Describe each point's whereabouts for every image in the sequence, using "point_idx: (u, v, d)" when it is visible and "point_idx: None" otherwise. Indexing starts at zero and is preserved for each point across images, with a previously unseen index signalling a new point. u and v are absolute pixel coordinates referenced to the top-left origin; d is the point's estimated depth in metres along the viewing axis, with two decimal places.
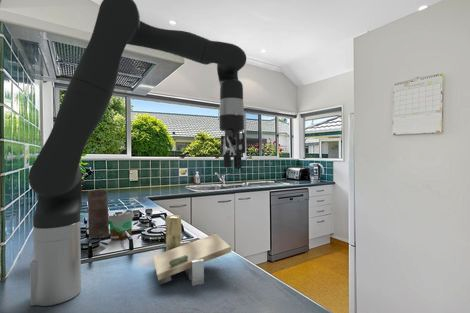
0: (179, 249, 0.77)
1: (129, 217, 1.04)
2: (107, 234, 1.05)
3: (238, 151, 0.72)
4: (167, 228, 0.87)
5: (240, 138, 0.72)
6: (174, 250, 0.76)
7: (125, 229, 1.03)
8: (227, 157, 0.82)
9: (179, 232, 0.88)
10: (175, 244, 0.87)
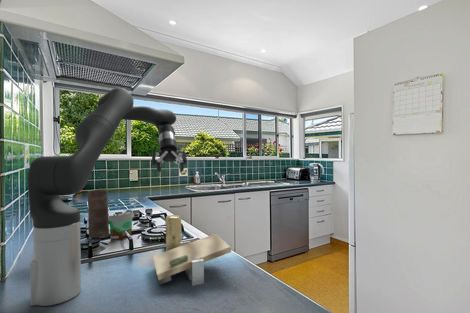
0: (179, 249, 0.77)
1: (129, 217, 1.04)
2: (107, 234, 1.05)
3: (152, 163, 1.05)
4: (167, 228, 0.87)
5: None
6: (174, 250, 0.76)
7: (125, 229, 1.03)
8: (179, 165, 1.08)
9: (179, 232, 0.88)
10: (175, 244, 0.87)
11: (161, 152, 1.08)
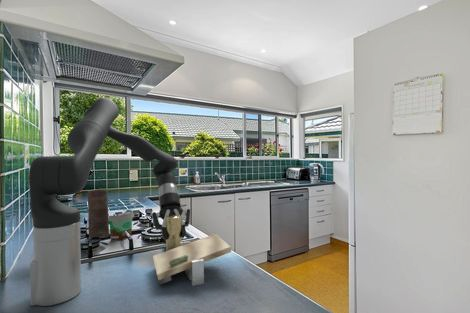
0: (179, 249, 0.77)
1: (129, 217, 1.04)
2: (107, 234, 1.05)
3: (156, 228, 0.89)
4: (167, 228, 0.87)
5: (153, 218, 0.91)
6: (174, 250, 0.76)
7: (125, 229, 1.03)
8: None
9: (179, 232, 0.88)
10: (175, 244, 0.87)
11: (162, 211, 0.92)
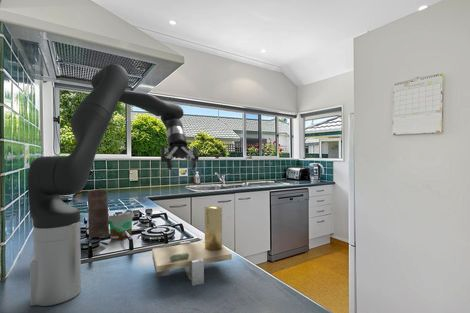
0: (180, 247, 0.77)
1: (129, 217, 1.04)
2: (107, 234, 1.05)
3: (161, 160, 0.96)
4: (207, 220, 0.74)
5: (161, 152, 0.98)
6: (174, 247, 0.76)
7: (125, 229, 1.03)
8: (191, 161, 0.99)
9: (220, 225, 0.75)
10: (216, 239, 0.74)
11: (170, 148, 0.99)
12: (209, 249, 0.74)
